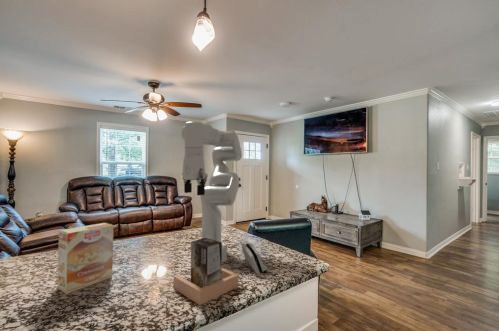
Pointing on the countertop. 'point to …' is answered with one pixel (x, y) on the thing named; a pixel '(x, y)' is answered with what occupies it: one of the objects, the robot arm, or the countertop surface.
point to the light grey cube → (224, 254)
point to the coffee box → (206, 262)
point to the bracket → (206, 287)
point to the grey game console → (253, 258)
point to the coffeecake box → (84, 256)
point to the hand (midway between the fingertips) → (194, 193)
